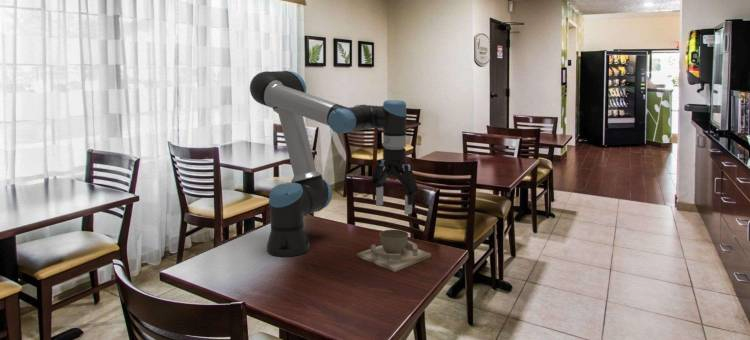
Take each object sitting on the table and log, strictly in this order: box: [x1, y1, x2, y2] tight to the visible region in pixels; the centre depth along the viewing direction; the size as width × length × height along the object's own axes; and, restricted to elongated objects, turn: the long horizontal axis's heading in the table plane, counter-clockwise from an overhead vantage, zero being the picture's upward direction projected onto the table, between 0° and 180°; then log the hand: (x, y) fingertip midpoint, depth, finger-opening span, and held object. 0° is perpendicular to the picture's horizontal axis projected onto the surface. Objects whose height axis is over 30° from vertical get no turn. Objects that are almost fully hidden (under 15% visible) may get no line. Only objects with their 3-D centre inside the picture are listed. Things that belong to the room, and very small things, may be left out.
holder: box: [357, 239, 432, 273], centre depth 171 cm, size 18×18×4 cm
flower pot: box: [378, 229, 410, 254], centre depth 170 cm, size 10×10×7 cm
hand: (393, 209), depth 168 cm, fingers open, 13 cm apart
